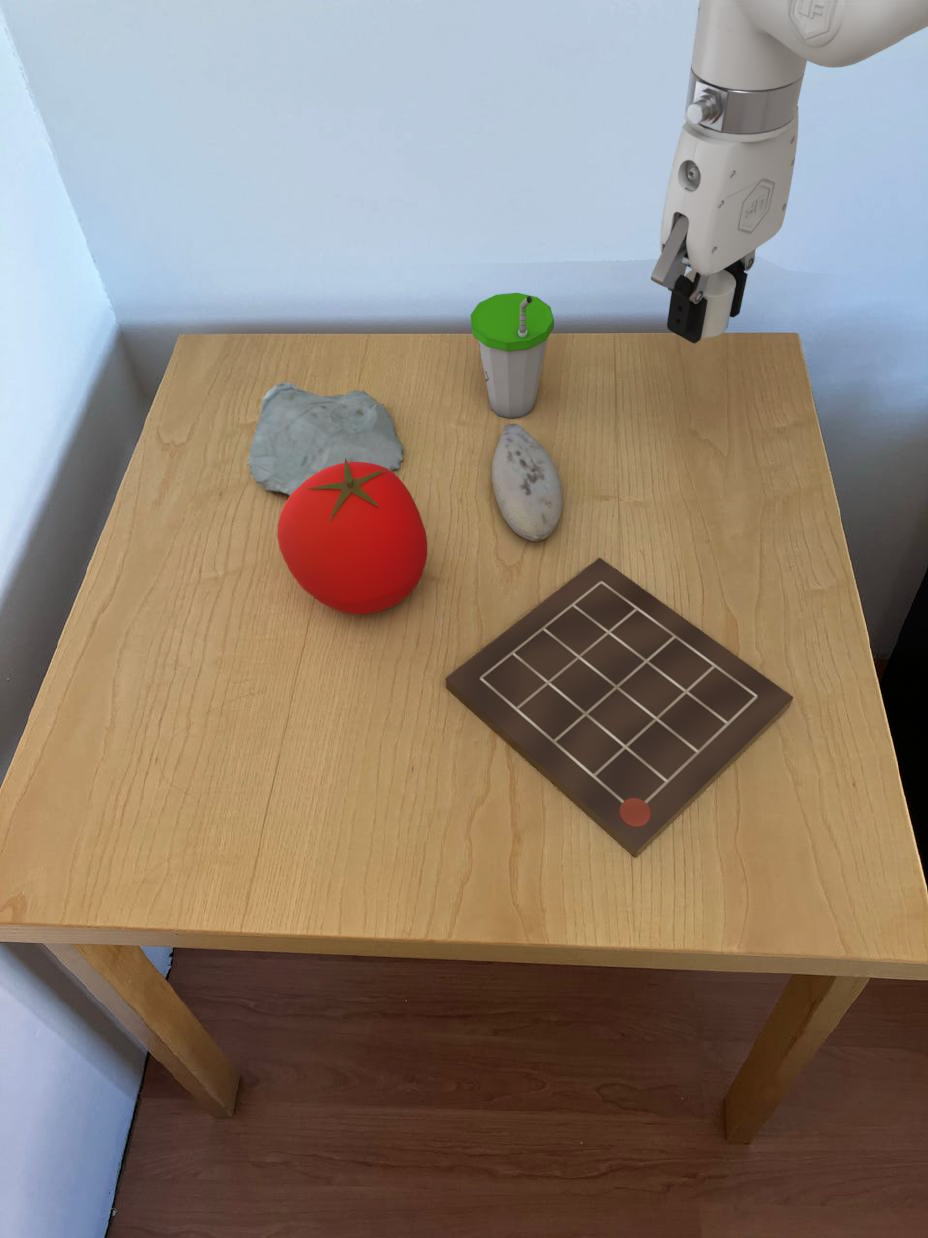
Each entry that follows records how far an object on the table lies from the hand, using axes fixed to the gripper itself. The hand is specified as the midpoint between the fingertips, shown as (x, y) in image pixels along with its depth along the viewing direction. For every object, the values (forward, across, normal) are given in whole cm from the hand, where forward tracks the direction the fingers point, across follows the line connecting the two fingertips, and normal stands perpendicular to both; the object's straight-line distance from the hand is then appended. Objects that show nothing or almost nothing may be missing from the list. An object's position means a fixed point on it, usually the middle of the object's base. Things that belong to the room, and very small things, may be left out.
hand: (703, 320), depth 80 cm
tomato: (+15, -32, +8) cm, 37 cm away
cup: (+15, -6, +17) cm, 23 cm away
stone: (+15, -25, +24) cm, 38 cm away
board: (+15, -25, -15) cm, 33 cm away
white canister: (0, 0, 0) cm, 0 cm away
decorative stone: (+15, -14, +6) cm, 22 cm away
